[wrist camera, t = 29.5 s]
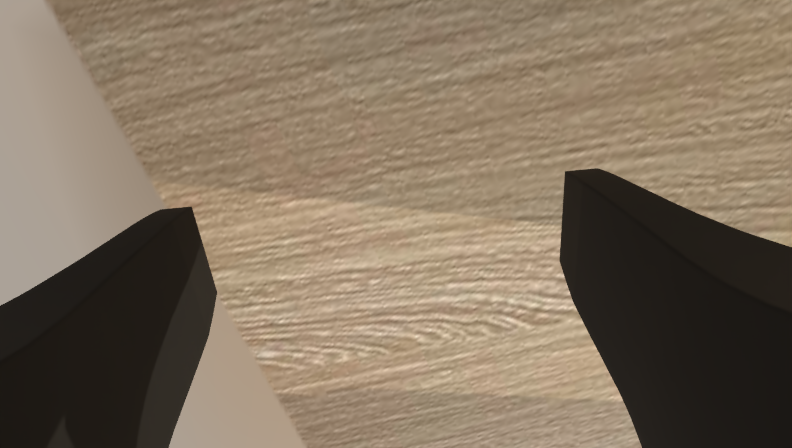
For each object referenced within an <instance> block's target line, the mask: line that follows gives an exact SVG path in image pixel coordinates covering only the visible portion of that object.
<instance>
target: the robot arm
mask: <svg viewBox="0 0 792 448" xmlns="http://www.w3.org/2000/svg"><path fill="white" fill-rule="evenodd" d="M560 263H561V266H562V270H563V273H564V276H565V279H566V282H567V285H568V288H569V291H570V294H571V297H572V299H573V302H574V304H575V306H576V308H577V310H578V312H579V314H580V316H581V318H582V320H583V322H584V324H585V326H586V328H587V330H588V332H589V334H590V336H591V338H592V340H593V342H594V344H595V346H596V348H597V350H598V352H599V353H600V355H601V357H602V359H603V361H604V363H605V365H606V367H607V369H608V371H609V373H610V375H611V377H612V379H613V381H614V382H615V384H616V386H617V388H618V390H619V392H620V394H621V397H622V399H623V401H624V403H625V405H626V407H627V410H628V412H629V414H630V417H631V419H632V422H633V425H634V427H635V430H636V432H637V435H638V438H639V440H640V443H641V446H642V448H792V247H788V246H785V245H782V244H779V243H776V242H773V241H770V240H767V239H764V238H760V237H757V236H754V235H751V234H748V233H746V232H743V231H740V230H737V229H735V228H732V227H729V226H727V225H724V224H722V223H719V222H717V221H715V220H712V219H710V218H707V217H705V216H702V215H700V214H697V213H695V212H693V211H691V210H688V209H686V208H684V207H682V206H679V205H677V204H675V203H673V202H671V201H669V200H667V199H664V198H662V197H660V196H658V195H656V194H654V193H652V192H650V191H648V190H646V189H643V188H641V187H639V186H637V185H635V184H633V183H631V182H629V181H627V180H625V179H623V178H620V177H618V176H616V175H614V174H611V173H609V172H606V171H604V170H601V169H586V170H576V171H565V183H564V199H563V215H562V232H561V248H560ZM216 295H217V291H216V287H215V284H214V281H213V277H212V274H211V270H210V267H209V264H208V260H207V257H206V254H205V250H204V247H203V244H202V240H201V237H200V233H199V230H198V227H197V223H196V220H195V217H194V213H193V210H192V207H183V208H173V209H162V210H159V211H157V212H154V213H152V214H150V215H149V216H147V217H145V218H143V219H142V220H140V221H138V222H137V223H135V224H133V225H132V226H130V227H129V228H127V229H126V230H124V231H123V232H121V233H120V234H118V235H117V236H115V237H113V238H112V239H110V240H109V241H107V242H106V243H104V244H103V245H101V246H100V247H98V248H97V249H95V250H94V251H92V252H91V253H89V254H88V255H86V256H85V257H83V258H81V259H80V260H78V261H77V262H75V263H73V264H72V265H70V266H69V267H67V268H65V269H64V270H62V271H60V272H59V273H57V274H55V275H54V276H52V277H50V278H49V279H47V280H45V281H44V282H42V283H40V284H39V285H37V286H35V287H34V288H32V289H31V290H29V291H27V292H25V293H23V294H21V295H20V296H18V297H16V298H14V299H13V300H11V301H9V302H7V303H5V304H3V305H1V306H0V448H168V447H169V444H170V441H171V438H172V435H173V432H174V429H175V426H176V423H177V421H178V418H179V416H180V413H181V410H182V407H183V405H184V402H185V399H186V396H187V394H188V391H189V388H190V386H191V383H192V380H193V377H194V375H195V372H196V370H197V367H198V364H199V361H200V358H201V356H202V353H203V350H204V347H205V344H206V342H207V339H208V336H209V331H210V327H211V322H212V317H213V312H214V307H215V301H216Z"/></svg>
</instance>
